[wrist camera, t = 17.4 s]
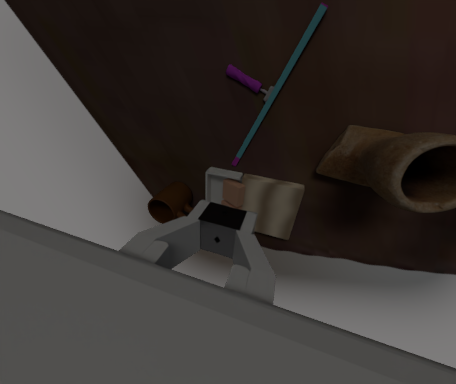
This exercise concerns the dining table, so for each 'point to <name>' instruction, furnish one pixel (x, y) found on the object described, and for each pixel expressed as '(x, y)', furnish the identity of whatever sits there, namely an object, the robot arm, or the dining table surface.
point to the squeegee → (274, 91)
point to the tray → (218, 183)
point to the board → (272, 204)
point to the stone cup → (397, 166)
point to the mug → (171, 203)
